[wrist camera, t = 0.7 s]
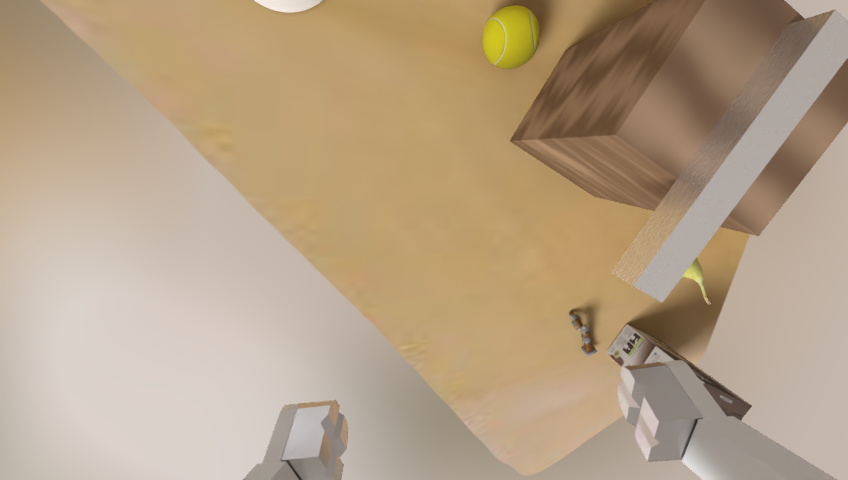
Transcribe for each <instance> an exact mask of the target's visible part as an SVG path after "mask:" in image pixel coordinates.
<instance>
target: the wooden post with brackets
mask: <svg viewBox="0 0 848 480" xmlns="http://www.w3.org/2000/svg"><path fill="white" fill-rule="evenodd" d="M569 314H570V316H571V317H572V319H573V322H572V323H573V325H574V327H575V329H576V330H577V329H579V328H580V329H581V332H582V335H581V336H582V340H583V342H584V346H583V347H581V348H582V350H583V351H584V353H585V354H586V355H587V356H590V355H592V354H594V353H596V352H597V350H596V349H595V348H594V346H593V345H592V344H591V343H590V342H591V340H590V339H591V338H590V336H589V335H590V333H589V328H588V327H587V326H586V325H583V324H582V323H581V322H580V320H579V319H578V317H577V316H576V315H575V314H574V313H573V312H571V313H569Z"/></svg>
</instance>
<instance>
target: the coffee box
mask: <svg viewBox="0 0 848 480" xmlns="http://www.w3.org/2000/svg"><path fill="white" fill-rule="evenodd" d="M607 353H608V354H609V355H610V356H611V357H612V358H613V359H614V360H615V361H616V362H617V363H618V364H619V365H620V366H621V367H622V368H623V367H625V366H632V365H640V364H648V363H655V362H668V361H675V360H683V361H684V362H686V363H687V364H688V366H689V367H690V368H691V369H692V371H693V372H694V373H695V375H696V376H697V377H698V379H699V380H700V381H701V383H702V384H703V385H704V387H705V388H706V389H707V391H708V392H709V393H710V395H711V396H712V397H713V399H714V400H715V401H716V403H717V404H718V405H719V406H720V408H721V409H722V410H723V412H724V413H725V414H726V416H734V417H736V418H737V419H739V420H742V417H743V416H744V415H745V414H746V413H747V411H748V410H749V409H750V408H751V405H750V404H748V403H747V402H745V401H744V400H743V399H741V398H740V397H739V396H737V395H736V394H734V393H733V392H732V391H730V390H729V389H727V388H726V387H725V386H723V385H722V384H720V383H719V382H718V381H716V380H715V379H713V378H712V377H711V376H709V375H707V374H706V373H705V372H703V371H702V370H701V369H699V368H698V367H696V366H695V365H694V364H692V363H691V362H689V361H688V360H687V359H685V358H684V357H682V356H681V355H679V354H678V353H677V352H675V351H674V350H672V349H671V348H670V347H668V346H667V345H665V344H664V343H662V342H660V341H658V340H656V339H655V338H653V337H651V336H649V335H647V334H645V333H643V332H641V331H639V330H638V329H636V328H634V327H632V326H630V325H628V324H626V325H625V327H624V328H623V330H622V331H621V332H620V334H619V335H618V336H617V338H616V339H615V341H614V342H613V343H612V345H611V346H610V348H609V349H608V350H607Z"/></svg>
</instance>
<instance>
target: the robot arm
mask: <svg viewBox="0 0 848 480" xmlns="http://www.w3.org/2000/svg"><path fill="white" fill-rule="evenodd" d="M254 1H256V2H257V3H259V4H261V5H263V6H264V7H267V8H269V9H272V10H275V11H280V12H300V11H304V10H307V9H309V8H312V7H314V6H315V5H317V4H319V3H320V2H321V1H322V0H254ZM620 376H621V378H622V379H623V382H621V383H620V384H619V385H618V392H617V394H618V399H619V404H620V407H621V410H622V412H623V414H624V416H625V418H626V420H627V421H628V422H629V423H631V424H632V425H634V426H635V427H636V432H635V439H636V441H637V442H638V445H639V446H640V448H641V450H642V452H643V454H644V456H645V458H646V460H647V462H654V461H669V460H682V462H683V463H684V464H685V465H686V466H687V467H689V468H690V469H691V470H692V471H693V472H694V473H695V474H697V475H698V476H699V477H700V478H701V479H702V480H837V479H835V478H833V477H832V476H830V475H828V474H827V473H825V472H824V471H822V470H820V469H819V468H817V467H815V466H814V465H812V464H811V463H809V462H807V461H806V460H804V459H802V458H801V457H799V456H797V455H796V454H794V453H793V452H791V451H789V450H788V449H786V448H785V447H783V446H781V445H780V444H778V443H776V442H775V441H773V440H771V439H770V438H768V437H767V436H765V435H763V434H762V433H760V432H758V431H757V430H755V429H754V428H752V427H750V426H749V425H747V424H745V423H744V422H742V421H741V420H739V419H737V418H736V417H734V416H726V414H725V413H724V412H723V410H722V409H721V408H720V406H719V405H718V404H717V403H716V401H715V400H714V399H713V397H712V396H711V395H710V393H709V392H708V391H707V389H706V388H705V387H704V385H703V384H702V383H701V381H700V380H699V379H698V377H697V376H696V375H695V373H694V372H693V371H692V369H691V368H690V367H689V366H688V364H687V363H686V362H684V361H683V360H675V361H668V362H655V363H648V364H640V365H632V366H625V367H623V368H622V369H621V373H620ZM347 442H348V426H347V421H346V418H345V416H344V415H342V414H341V413H339V404H338V403H337V401H336V400H331V401H320V402H310V403H299V404H290V405H285V406H284V407H283V409H282V410H281V411H280V414H279V417H278V419H277V422H276V425H275V428H274V431H273V434H272V437H271V439H270V442H269V445H268V448H267V451H266V454H265V456H264V459H263V462H262V463H260V464H257V465H256V466H255V467H254V468H253V469H252V470H251V471H250V472H249V474H248V475H247V476H246V477H245V478H244V479H243V480H341V477H342V472H343V466H344V465H343V463H342V461H341V459H340V456H341V455H342V454H343V453H344V451H345V450H346V448H347Z"/></svg>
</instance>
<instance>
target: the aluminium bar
mask: <svg viewBox="0 0 848 480" xmlns="http://www.w3.org/2000/svg"><path fill="white" fill-rule="evenodd" d="M847 58H848V21H847V20H846V19H845V18H844V17H843V16H842V15H841V14H840V13H839V12H838V11H837V10H832V11H829V12H826V13H822V14H819V15H816V16H813V17H810V18H807V19H803V20H800V21H797V22H794V23H790V24H788V25H787V26H786V28H785V29H784V31H783V32H782V33H781V35H780V36H779V38H778V39H777V40H776V42H775V43H774V44H773V46H772V47H771V49H770V50H769V51H768V53H767V54H766V56H765V57H764V58H763V60H762V61H761V63H760V64H759V65H758V67H757V68H756V70H755V71H754V72H753V74H752V75H751V77H750V78H749V79H748V81H747V82H746V84H745V85H744V86H743V88H742V89H741V91H740V92H739V93H738V95H737V96H736V98H735V99H734V100H733V102H732V103H731V105H730V106H729V107H728V109H727V110H726V112H725V113H724V114H723V116H722V117H721V119H720V120H719V121H718V123H717V124H716V126H715V127H714V128H713V130H712V131H711V133H710V134H709V135H708V137H707V138H706V140H705V141H704V142H703V144H702V145H701V146H700V148H699V149H698V151H697V152H696V153H695V155H694V156H693V158H692V159H691V160H690V162H689V163H688V165H687V166H686V167H685V169H684V170H683V172H682V173H681V174H680V176H679V177H678V179H677V180H676V181H675V183H674V184H673V186H672V187H671V188H670V190H669V191H668V193H667V194H666V195H665V197H664V198H663V200H662V201H661V202H660V204H659V205H658V207H657V208H656V209H655V211H654V212H653V214H652V215H651V216H650V218H649V219H648V221H647V222H646V223H645V225H644V226H643V228H642V229H641V230H640V232H639V233H638V235H637V236H636V237H635V239H634V240H633V241H632V243H631V244H630V246H629V247H628V248H627V250H626V251H625V253H624V254H623V255H622V257H621V258H620V260H619V261H618V262H617V264H616V265H615V267H614V268H613V269H612V271H611V273H613V274H614V275H616V276H617V277H619V278H621V279H622V280H624V281H626V282H627V283H629V284H631V285H632V286H634V287H636V288H637V289H639V290H641V291H642V292H644V293H646V294H648V295H649V296H651V297H653V298H655V299H656V300H658V301H660V302H663V301H664V300H665V298H666V297H667V296H668V294H669V293H670V292H671V291H672V289H673V288H674V287H675V285H676V284H677V283H678V281H679V280H680V279H681V277H682V276H683V275H684V273H685V272H686V271H687V269H688V268H689V267H690V265H691V264H692V263H693V261H694V260H695V259H696V257H697V256H698V255H699V254H700V252H701V251H702V250H703V248H704V247H705V246H706V244H707V243H708V242H709V240H710V239H711V238H712V236H713V235H714V234H715V232H716V231H717V230H718V228H719V227H720V226H721V224H722V223H723V222H724V220H725V219H726V218H727V217H728V215H729V214H730V213H731V211H732V210H733V209H734V207H735V206H736V205H737V203H738V202H739V201H740V199H741V198H742V197H743V195H744V194H745V193H746V191H747V190H748V189H749V187H750V186H751V185H752V183H753V182H754V181H755V180H756V178H757V177H758V176H759V174H760V173H761V172H762V170H763V169H764V168H765V166H766V165H767V164H768V162H769V161H770V160H771V158H772V157H773V156H774V154H775V153H776V152H777V150H778V149H779V148H780V146H781V145H782V144H783V143H784V141H785V140H786V139H787V137H788V136H789V135H790V133H791V132H792V131H793V129H794V128H795V127H796V125H797V124H798V123H799V121H800V120H801V119H802V117H803V116H804V115H805V113H806V112H807V111H808V109H809V108H810V107H811V106H812V104H813V103H814V102H815V100H816V99H817V98H818V96H819V95H820V94H821V92H822V91H823V90H824V88H825V87H826V86H827V84H828V83H829V82H830V80H831V79H832V78H833V76H834V75H835V74H836V72H837V71H838V70H839V69H840V67H841V66H842V65H843V63H844V62H845V61H846V59H847Z"/></svg>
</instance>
